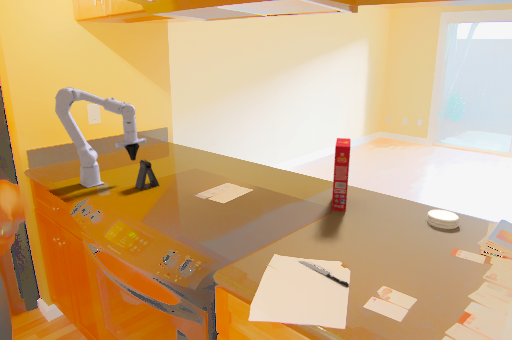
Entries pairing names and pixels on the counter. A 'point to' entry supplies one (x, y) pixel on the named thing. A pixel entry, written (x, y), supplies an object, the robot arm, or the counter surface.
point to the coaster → (443, 219)
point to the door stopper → (143, 171)
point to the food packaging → (341, 174)
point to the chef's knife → (324, 273)
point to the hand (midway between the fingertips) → (133, 160)
